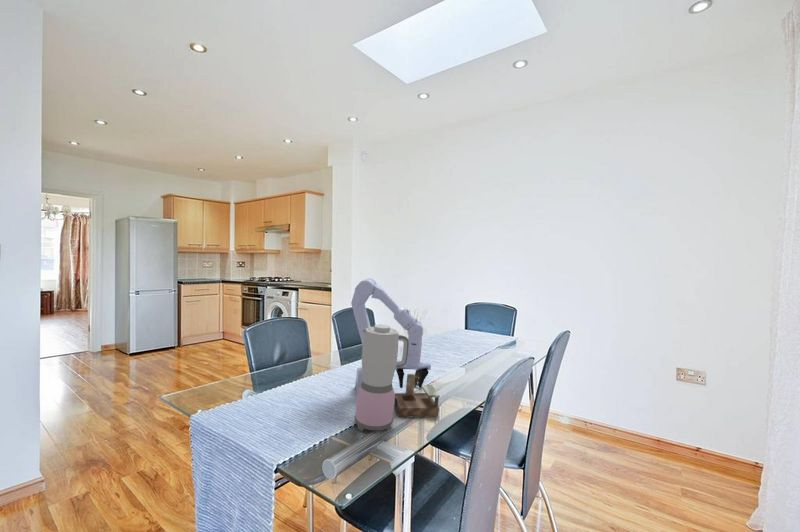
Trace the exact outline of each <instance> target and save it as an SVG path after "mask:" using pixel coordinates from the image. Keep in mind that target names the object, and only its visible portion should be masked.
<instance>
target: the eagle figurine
mask: <svg viewBox="0 0 800 532" xmlns="http://www.w3.org/2000/svg"><path fill="white" fill-rule="evenodd" d="M414 375H415V384H416V385H417V384H418V382H419V369H417V370H415V372H414Z"/></svg>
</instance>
